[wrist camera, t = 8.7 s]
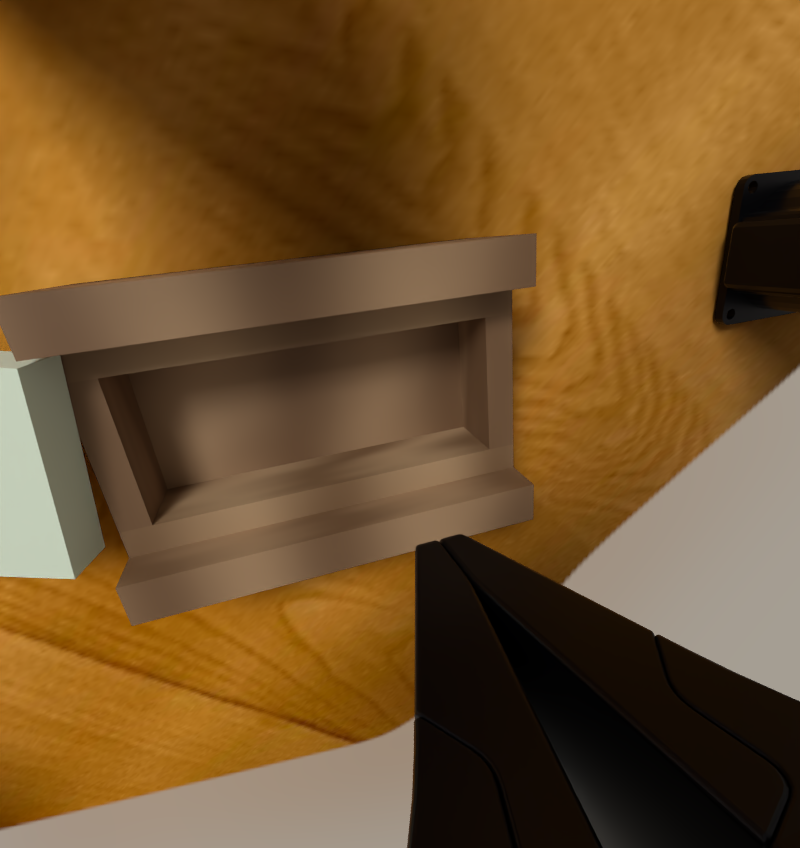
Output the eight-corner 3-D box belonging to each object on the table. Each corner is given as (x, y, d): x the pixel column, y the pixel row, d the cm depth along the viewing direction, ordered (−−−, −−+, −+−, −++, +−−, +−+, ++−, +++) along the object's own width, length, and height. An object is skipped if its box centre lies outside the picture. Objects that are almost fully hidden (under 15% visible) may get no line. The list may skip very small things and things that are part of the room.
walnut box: (468, 238, 18) (536, 233, 13) (477, 463, 22) (533, 519, 17) (72, 284, 15) (-12, 297, 10) (164, 535, 19) (132, 625, 14)
